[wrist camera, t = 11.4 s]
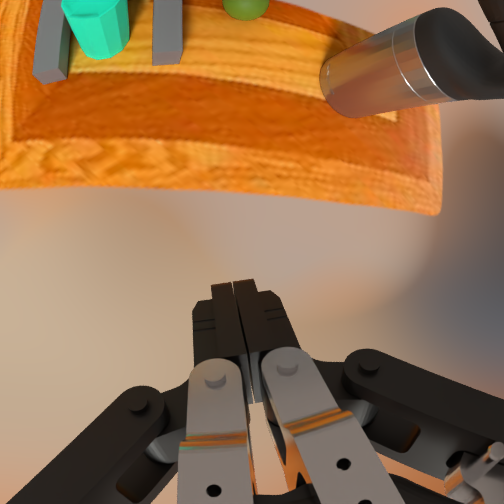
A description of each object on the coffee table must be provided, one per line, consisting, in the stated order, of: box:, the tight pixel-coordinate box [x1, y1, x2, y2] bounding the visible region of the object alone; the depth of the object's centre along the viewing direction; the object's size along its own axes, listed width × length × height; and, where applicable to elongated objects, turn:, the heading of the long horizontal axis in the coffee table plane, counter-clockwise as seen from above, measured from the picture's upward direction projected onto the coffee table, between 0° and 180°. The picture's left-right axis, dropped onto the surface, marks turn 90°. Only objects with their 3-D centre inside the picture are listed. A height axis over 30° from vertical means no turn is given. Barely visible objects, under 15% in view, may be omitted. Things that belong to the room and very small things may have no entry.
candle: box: [61, 0, 130, 60], centre depth 21 cm, size 6×6×12 cm
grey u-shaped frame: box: [33, 0, 183, 84], centre depth 24 cm, size 16×13×4 cm
